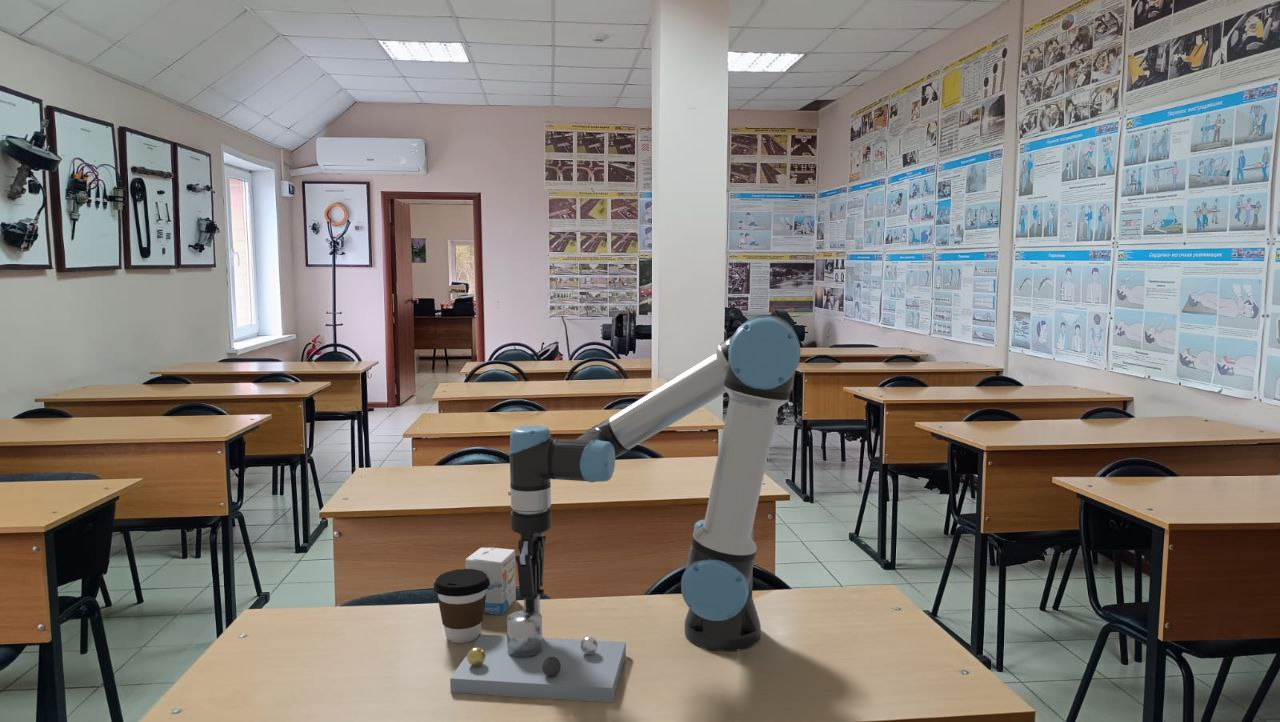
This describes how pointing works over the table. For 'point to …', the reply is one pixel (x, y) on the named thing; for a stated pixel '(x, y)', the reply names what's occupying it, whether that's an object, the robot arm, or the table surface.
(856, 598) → the table surface
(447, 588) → the coffee cup
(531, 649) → the shiny silver cylinder
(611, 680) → the plate
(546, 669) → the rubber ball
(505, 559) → the ink box
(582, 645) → the steel ball
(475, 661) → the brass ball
